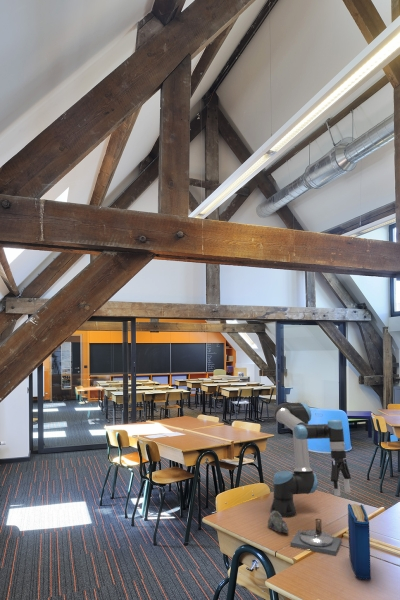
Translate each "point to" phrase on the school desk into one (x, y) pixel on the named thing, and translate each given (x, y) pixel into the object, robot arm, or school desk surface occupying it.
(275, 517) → the mineral rock
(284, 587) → the school desk surface
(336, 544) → the stand
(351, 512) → the book
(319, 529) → the crank wheel
